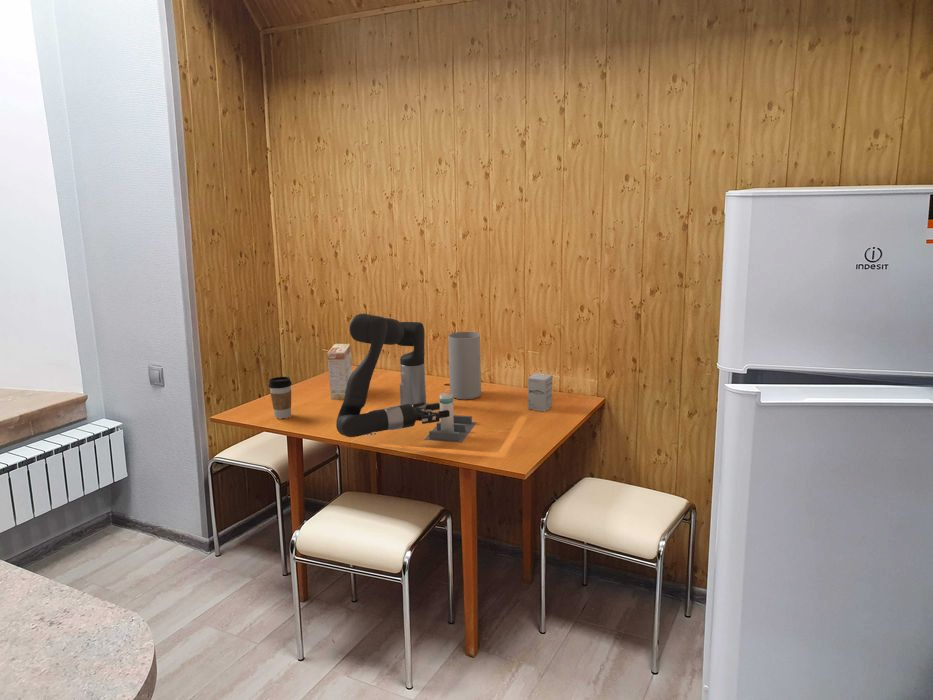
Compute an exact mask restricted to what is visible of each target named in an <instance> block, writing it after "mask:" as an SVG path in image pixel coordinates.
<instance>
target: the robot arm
mask: <svg viewBox="0 0 933 700" xmlns="http://www.w3.org/2000/svg"><path fill="white" fill-rule="evenodd" d="M349 333H350V337H351V338H352V339H353V340H354V341H356V342H359V343H364V344H369V345H370V346H369V350H368V353H367V354H366V356H365V357H364V359H363V360H362V361H361V362H360V363H359V365H357V367H355V369H354V370H352V374H351V375H350V377H349V379H348V382H347V387H346V391H345V396H344V399H343V402H342V405H341V406H340V409H339V412H338V414H337V418H336V423H335V425H336V426H335V427H336V430H337V432H338V433H339V434H340V435H341V436H344V437H347V438H357V437H362V436H365V435H369V434H371V433H379V432H384V431H385V432H386V431H395V430H399V429H405V428H411V427H414V426H415V424H416V423H417V422H418V421H419V422H421V425H424V424H432V423H438V422H440V421H441V418H445V417H449V416H450V412H449V410H444V411H440V402H435V403H427V393H426V391H427V389H426V386H427V385H426V370H425V369H426V367H425V365H426V364H425V350H426V349H425V337H426V336H425V327H424V324H423V323H422V322H421V321H399V320H397V319H396V318H395V319H394V318H389V317H383V316H381V315H380V316H379V315H375V314H374V315H372V314H367V313H358V314H357V315H355V316H353V318H352V319H351V321H350V323H349ZM384 345H387V346H388V345H389V346H390V345H391V346H392V345H397V346H399V347H400V346H402V347H413V350H412V351H411V352H408V353H405V354H402V355H401V356H400V357H399V358H400V359H399V360H400V361H399V363H400V365H399V367H400V383H399V399H400V401H399V402H400V403H399V404H400V405H394V406H388V407H385V408H381V409H373V410H370V411H368V412H365V413H364V412H363V413H361V411H362V409H363V408H364V407H365V405H366V402H367V398H368V393H369V390H370V389H369V388H370V385H371V381H372V377H373V375H374V371H375V369H376V366H377V364H378V360H379V358H380V355H381V352H382V349H383V347H384Z"/></svg>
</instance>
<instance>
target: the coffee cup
mask: <svg viewBox="0 0 933 700" xmlns="http://www.w3.org/2000/svg"><path fill="white" fill-rule="evenodd" d="M268 387H269V389H270V398H271V403H272V409H273V414H274V418H275V417H276V418H286V419H289V418H291V417H292V389H291V388H292V381H291V378H290V377H288V376H276V377H273V378H270V379H268ZM290 416H291V417H290ZM288 417H289V418H288ZM276 418H275V419H276Z"/></svg>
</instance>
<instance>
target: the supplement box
mask: <svg viewBox="0 0 933 700" xmlns="http://www.w3.org/2000/svg"><path fill="white" fill-rule="evenodd" d="M550 407H551V408H552V407H553V375H552V374H543V373H537V372H536V373H533V374H531V375H530V376H528V377H527V410H531V409H532V411H538V412H539V411H540V412H544V411H546V412H547V411H548V410H550V409H551V408H550Z"/></svg>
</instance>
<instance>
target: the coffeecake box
mask: <svg viewBox="0 0 933 700" xmlns="http://www.w3.org/2000/svg"><path fill="white" fill-rule="evenodd" d="M326 355H327V364H328V365H327V367H328V378H329V389H330V391H329V392H330V393H329V394H330V400H341V399H340V398H344V396H345V391H346V387H347V382H348V379H349V377H350V375H351V374H352V372H353V365H352V364H353V363H352V361H353V360H352V350H351V343H334V344H333V345H332V347H331V348H330V349H329V350H328V352H327V353H326Z"/></svg>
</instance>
